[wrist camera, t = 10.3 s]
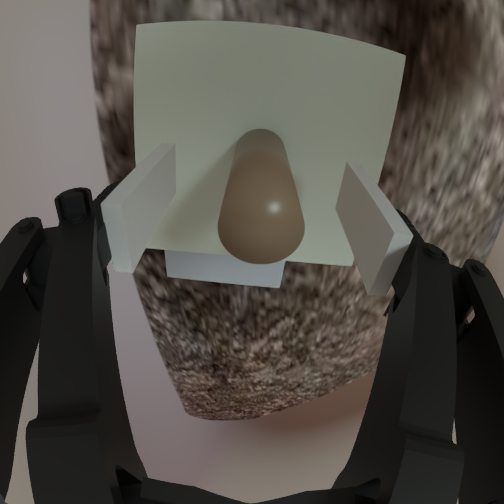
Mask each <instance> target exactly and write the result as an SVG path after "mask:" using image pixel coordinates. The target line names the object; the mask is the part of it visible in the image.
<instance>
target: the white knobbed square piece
mask: <svg viewBox="0 0 504 504" xmlns="http://www.w3.org/2000/svg"><path fill="white" fill-rule="evenodd" d="M405 59H406V55H403V54H400V53H397V52H394V51H391V50H388V49H385V48H382V47H379V46H375V45H372V44H369V43H365V42H361V41H358V40H354V39H350V38H346V37H342V36H337V35H333V34H328V33H323V32H318V31H313V30H307V29H302V28H295V27H288V26H281V25H273V24H263V23H252V22H236V21H175V22H160V23H149V24H140V25H137V27H136V41H135V60H134V141H135V161H136V166H137V165H138V164H139V163H140V162H141V161H142V160H143V159H145V158H146V157H147V156H148V155H149V154H150V153H151V152H152V151H153V150H154V149H155V148H156V147H157V146H158V145H159V144H160V143H176V194H175V195H174V197H173V199H172V201H171V202H170V204H169V206H168V208H167V209H166V211H165V213H164V215H163V217H162V218H161V220H160V222H159V224H158V226H157V228H156V229H155V231H154V233H153V235H152V237H151V239H150V241H149V243H148V245H147V247H146V248H151V249H162V250H173V251H184V252H194V253H205V254H216V255H228V256H234V257H236V258H237V259H239V260H241V261H244V262H247V263H251V264H271V263H275V262H278V261H281V260H284V261H295V262H307V263H319V264H330V265H342V266H352V263H353V260H354V255H353V252H352V250H351V247H350V244H349V242H348V239H347V237H346V234H345V232H344V229H343V227H342V224H341V222H340V219H339V217H338V214H337V212H336V209H335V207H336V203H337V199H338V195H339V191H340V187H341V183H342V179H343V175H344V170H345V166H346V162H353V163H358V164H361V165H362V166H363V168H364V169H365V170H366V171H367V173H368V174H369V175H370V176H371V178H372V179H373V180H374V182H375V183H376V184H377V185H378V182H379V178H380V174H381V171H382V167H383V163H384V159H385V156H386V152H387V148H388V144H389V139H390V135H391V131H392V127H393V122H394V118H395V113H396V108H397V104H398V99H399V94H400V88H401V83H402V77H403V72H404V66H405Z"/></svg>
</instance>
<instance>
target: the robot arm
mask: <svg viewBox="0 0 504 504" xmlns="http://www.w3.org/2000/svg"><path fill="white" fill-rule="evenodd" d="M175 194H176V143H160V144H159V145H158V146H157V147H156V148H155V149H154V150H153V151H152V152H151V153H150V154H149V155H148V156H147V157H146V158H145V159H143V160H142V161H141V162H140V163H139V164H138V165H137V166H136V167H135V168H134V169H133V170H132V171H131V172H130V173H129V174H128V175H127V176H126V177H125V178H124V180H123V181H122V182H115V183H113V184H111V185H109V186H107V187H106V188H105V189H104V190H103V191H102V192H101V194H99V195H98V196H97V198H96V199H95V200H94V201H93V200H92V194H91V190H90V189H88V188H81V187H80V188H73V189H70V190H67V191H65V192H62V193H61V194H60V195H58V196H57V197H56V198H55V205H56V209H57V213H58V218H59V226H57V227H51V228H45V229H43V226H42V223H41V219H39V218H38V217H30V218H25V219H22V220H20V222H18V223H17V224H15V225H14V226H13V227H12V228H11V230H10V231H9V232H8V234H7V235H6V237H5V238H4V239H3V241H2V242H1V243H0V504H7V503H5V498H6V495H7V492H8V488H9V483H10V479H11V474H12V467H13V460H14V451H15V443H16V437H17V430H18V424H19V419H20V413H21V408H22V403H23V399H24V394H25V390H26V385H27V382H28V378H29V374H30V369H31V366H32V363H33V359H34V356H35V352H36V349H37V346H38V343H39V358H38V415H37V418H36V419H33V420H31V421H29V423H28V425H27V427H26V449H27V459H28V467H29V475H30V481H31V487H32V493H33V498H34V502H35V504H250V503H244V502H241V501H237V500H233V499H230V498H227V497H224V496H221V495H217V494H214V493H212V492H209V491H206V490H203V489H200V488H197V487H195V486H188V485H182V484H176V483H169V482H165V481H160V480H155V479H150V478H148V477H147V474H146V471H145V468H144V466H143V463H142V461H141V459H140V457H139V455H138V453H137V450H136V447H135V444H134V440H133V436H132V432H131V428H130V423H129V419H128V415H127V410H126V405H125V401H124V396H123V391H122V386H121V379H120V374H119V368H118V361H117V355H116V347H115V340H114V331H113V322H112V312H111V301H110V287H109V274H108V271H107V265H108V263H109V261H110V260H112V264H113V268H114V271H117V272H125V273H132V274H133V272H134V270H135V268H136V266H137V264H138V262H139V260H140V258H141V256H142V254H143V252H144V250H145V248H146V247H147V245H148V243H149V241H150V239H151V237H152V235H153V233H154V231H155V229H156V228H157V226H158V224H159V222H160V220H161V218H162V217H163V215H164V213H165V211H166V209H167V208H168V206H169V204H170V202H171V201H172V199H173V197H174V195H175ZM335 209H336V212H337V214H338V217H339V219H340V222H341V224H342V227H343V229H344V232H345V234H346V237H347V239H348V242H349V244H350V247H351V250H352V252H353V255H354V258H355V260H356V263H357V266H358V269H359V271H360V274H361V277H362V280H363V283H364V285H365V288H366V291H367V294H368V295H369V296H386V295H387V293H388V291H389V289H390V287H391V284H392V286H393V288H394V290H395V294H394V296H393V298H392V300H391V302H390V303H389V305H388V307H387V309H386V311H385V313H384V315H383V316H385V317H386V315H387V313H389V314H388V320H387V325H386V330H385V335H384V340H383V344H382V349H381V354H380V358H379V362H378V366H377V370H376V375H375V378H374V383H373V386H372V390H371V393H370V397H369V401H368V404H367V407H366V410H365V414H364V417H363V420H362V423H361V426H360V429H359V432H358V435H357V438H356V442H355V444H354V447H353V450H352V452H351V455H350V458H349V460H348V462H347V464H346V466H345V468H344V469H343V470H342V472H341V473H340V474H339V476H338V477H337V479H336V481H335V482H334V484H333V486H332V488H331V489H328V490H316V491H305V492H301V493H298V494H294V495H290V496H286V497H282V498H278V499H273V500H269V501H264V502H259V503H252V504H456V503H457V499H459V504H504V298H503V296H502V294H501V292H500V290H499V288H498V286H497V284H496V282H495V280H494V278H493V276H492V274H491V273H490V271H489V270H488V269H487V268H486V267H485V265H484V264H483V263H481V262H480V261H476V260H474V259H467V260H466V261H465V263H464V265H463V267H462V268H459V267H457V266H454V265H451V264H449V259H448V257H447V255H446V254H445V253H444V251H442V250H441V249H440V248H438V247H437V246H435V245H433V244H430V243H426V242H424V240H423V239H422V237H421V236H420V234H419V233H418V232H417V230H415V227H414V226H413V225H412V224H411V222H410V220H409V219H408V218H407V216H406V215H404V214H403V213H402V212H401V211H399V210H397V209H395V208H394V207H393V205H392V204H391V203H390V201H389V200H388V199H387V197H386V196H385V195H384V193H383V192H382V191H381V189H380V188H379V187H378V185H377V184H376V183H375V182H374V180H373V179H372V178H371V176H370V175H369V174H368V173H367V171H366V170H365V169H364V168H363V166H362V165H361V164H358V163H353V162H346V166H345V170H344V175H343V179H342V183H341V187H340V191H339V195H338V199H337V203H336V207H335ZM24 272H25V274H26V277H27V280H26V282H25V283H23V274H24ZM473 309H474V313H475V317H474V318H473V320H472V321H471V322H470V323H468V320H467V317H468V316H469V314H470V313H471V311H472V310H473ZM39 339H40V341H39ZM454 420H455V429H456V441H457V445H456V444H454V443H453V441H452V431H453V423H454Z"/></svg>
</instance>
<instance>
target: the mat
mask: <svg viewBox="0 0 504 504" xmlns="http://www.w3.org/2000/svg"><path fill="white" fill-rule="evenodd" d="M165 260H166V270H167V277H174V278H183V279H192V280H201V281H210V282H220V283H230V284H240V285H251V286H262V287H273V288H280V284H281V279H282V274H283V269H284V265H285V261H284V260H281V261H278V262H275V263H271V264H251V263H247V262H244V261H241V260H239V259H237V258H236V257H234V256H228V255H216V254H205V253H194V252H184V251H173V250H165Z"/></svg>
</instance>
